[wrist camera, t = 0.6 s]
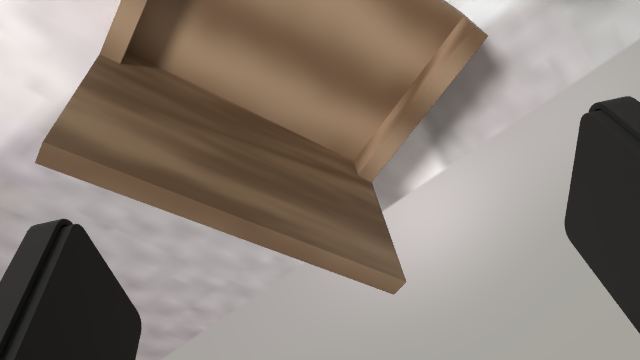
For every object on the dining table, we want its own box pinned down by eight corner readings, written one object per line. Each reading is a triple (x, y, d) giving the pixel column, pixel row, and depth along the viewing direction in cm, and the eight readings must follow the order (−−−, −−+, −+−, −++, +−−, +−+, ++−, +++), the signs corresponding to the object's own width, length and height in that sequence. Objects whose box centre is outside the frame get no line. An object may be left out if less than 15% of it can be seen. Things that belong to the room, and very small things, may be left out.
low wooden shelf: (198, -173, 27) (160, -172, 15) (460, 11, 35) (572, 108, 23) (111, 41, 34) (34, 162, 21) (351, 157, 41) (394, 294, 29)
